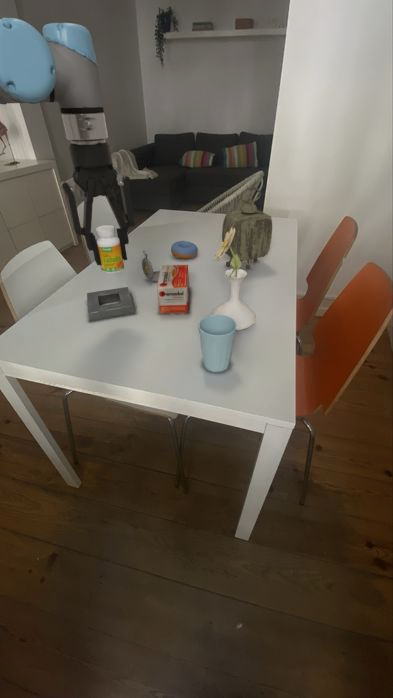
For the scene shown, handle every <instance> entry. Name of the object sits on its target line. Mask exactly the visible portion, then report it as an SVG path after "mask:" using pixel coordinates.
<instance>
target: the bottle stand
mask: <svg viewBox="0 0 393 698" xmlns="http://www.w3.org/2000/svg"><path fill="white" fill-rule="evenodd" d="M86 299H87V314H88V317H89V321H90V322H93V321H101V320H105V319H111V318H117V317H123V316H128V315H134V314H135V307H134V303H133V300H132V297H131V294H130V290H129V287H128V286H123V287H118V288H117V287H116V288H110V289H104V290H98V291H89V292H86ZM113 302H115V303H113ZM107 303H109V304H107ZM101 304H103V305H101Z"/></svg>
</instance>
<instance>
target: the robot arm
mask: <svg viewBox="0 0 393 698" xmlns="http://www.w3.org/2000/svg"><path fill="white" fill-rule="evenodd" d="M98 67H99V65H98V62H97V56H96V52H95V46H94V43H93V38H92V35H91V32H90V31H89V29H88V28H87V27H85V26H84V25H81V24H78V23H72V22H52V23H46V24H44V26H43V27H42V34H41V32H40V31H39V30H37V29H36V28H35V27H34V26H33V25H31V24H30V23H28V22H26V21H25V20H22V19H20V18H16V17H2V18H0V105H3V106H4V105H7V104H30V105H31V104H32V105H36V104H40V103H58V106H59V111H60V114H61V120H62V123H63V129H64V133H65V137H66V138H65V139H66V141H68V142H70V143H69V146H68V152H69V155H70V160H71V165H72V168H73V173H72V177H71V178H70V179H67V180H62V181H60V186H61V188H62V189H63V192H64V193H65V195H66V200H67V205H68V209H69V214H70V219H71V224H72V228H73V231H74V233H75V234H76V235H77V236H84V241H85V244H86V248H87V249H88V251H89V252H90V251H92V253H93V258H94V261H95V263H96V266H100V265H101V262H100V258H99V253H98V248H97V244H96V239H97V238H96V235H95V234H94V232H92V223H93V222H92V221H93V220H92V219H93V203H94V198H97V197H99V196H100V197H105V198H106V200H107V202H108V204H109V207H110V210H111V211H112V214H113V216H114V218H115V220H116V221H117V225H118V226H119V227H117V228H116V236H117V237H118V238H119V239H120V244H121V250H122V256H123V261H128V256H127V249H126V245H129V243H130V240H129V233H128V231H129V228H131V227H134V226H135V224H136V223H135V217H134V211H133V205H132V199H131V194H130V185H131V178H130V177H129V176H128V175H126V174H119V173H117V172H116V169H115V167H114V164H113V158H112V151H111V146H110V144H109V142H107V140H108V138H109V133H108V128H107V120H106V115H105V110H104V104H103V103H104V102H103V97H102V89H101V84H100V83H101V82H100V77H99V68H98ZM116 181H117V185H118V186H119V188H120V195H121V199H122V205H123V211H124V215H125V219H124V216H123V214H122V212H121V209H120V207H119V205H118V203H117V200H116V198H115V194H114V192H113V187H114V185H115V183H116ZM76 185H77V187H79V188H80V189H81V190H82V191H83V216H82V217H83V219H82V227H81V223H80V218H79V212H78V207H77V203H76V202H77V201H76V197H75V195H74V193H75V191H76V187H75V186H76Z"/></svg>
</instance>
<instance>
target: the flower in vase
mask: <svg viewBox="0 0 393 698" xmlns="http://www.w3.org/2000/svg"><path fill="white" fill-rule="evenodd" d="M228 234H229V235H228ZM234 234H235V228H234V229H233V230H232V227H231V229H230V232H229V233H228V232H227V233H226V236H225V239H224V242H222V241H221V242H220V243H219V249H218V250H217V252H215V255H214V257H215V258H214V261H216V262H219V261H220V260H221V259H223V257H224V256H225V255H226V252H227V250H228V249H229V248H230V250H231V252H232V255H233V258H232V260H231V262H230V265H231V266H232V267H233V268H230V269H227V270H226V271H225V275H226V277H227V279H228V281H229V288H230V289H229V290H230V291H229V293H230V294H229V298H228V300H226V301H225V302H223V303H220V304H219V305H218V306H217V307H216V308H214V309H213V311H212V313H211V315H225V316H228V317H230V318H232V319H233V320H234V321H235V322H236V324H237V327H236V332H237V331H243V330H246V329H248V328H250V327H252V326H253V325H254V323H255V322H256V314H255V312H254V310H253V309H252V308H251V307H250V306H249V305H247V304H245V303H244V302H242V301H241V299H240V291H241V286H242V282H243V280H244V279H245V277H246V276H247V274H248V272H247V271H246V270H245V269H241V267H242V265H243V263H242V261H240V259H239V257H238V255H237V254H236V255H234V253H233V250H232V248H231V247H230V244H231V242H232V240H233V237H234Z"/></svg>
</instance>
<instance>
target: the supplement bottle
mask: <svg viewBox="0 0 393 698" xmlns="http://www.w3.org/2000/svg"><path fill="white" fill-rule="evenodd" d="M95 231H96V235H97V237H96V238H95V239H96V244H97V248H98V253H99V258H100V262H101V265H99V267H100V270H101V272H102V273H104V274H106V275H115V274H119V273H121V272H124V270H125V263H124V260H123V256H122V250H121V244H120V239H119V238H118V235H116V228H115V226H114V225H110V224H107V225H106V224H104V225H99V226H97V227H96V228H95Z"/></svg>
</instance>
